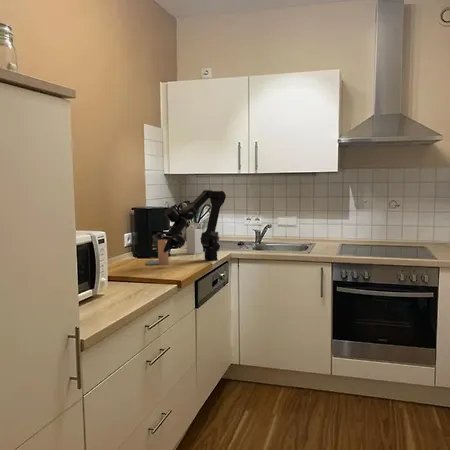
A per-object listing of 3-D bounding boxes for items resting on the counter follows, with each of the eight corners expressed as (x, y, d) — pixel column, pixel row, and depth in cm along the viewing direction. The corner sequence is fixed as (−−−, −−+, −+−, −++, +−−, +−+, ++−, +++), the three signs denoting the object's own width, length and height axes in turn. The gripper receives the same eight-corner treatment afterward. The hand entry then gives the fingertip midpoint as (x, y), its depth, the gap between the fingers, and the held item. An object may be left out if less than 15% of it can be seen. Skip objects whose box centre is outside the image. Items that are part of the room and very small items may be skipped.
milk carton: (194, 252, 294) (193, 222, 293) (203, 253, 290) (202, 222, 288) (186, 253, 289) (185, 223, 287) (195, 254, 284) (194, 223, 283)
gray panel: (167, 261, 260) (167, 259, 260) (167, 264, 249) (167, 263, 249) (147, 262, 259) (147, 260, 259) (146, 265, 248) (146, 263, 248)
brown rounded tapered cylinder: (168, 263, 241) (167, 239, 240) (168, 264, 236) (167, 240, 235) (158, 263, 241) (157, 239, 240) (158, 265, 236) (157, 240, 235)
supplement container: (209, 249, 308) (209, 231, 307) (222, 250, 302) (222, 231, 301) (199, 251, 299) (199, 232, 298) (213, 252, 293) (212, 233, 292)
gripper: (197, 239, 242) (181, 263, 235) (174, 236, 255) (159, 259, 248) (185, 225, 235) (168, 249, 229) (162, 223, 249) (146, 246, 242)
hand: (160, 251), depth 237 cm, fingers closed on brown rounded tapered cylinder, 5 cm apart
